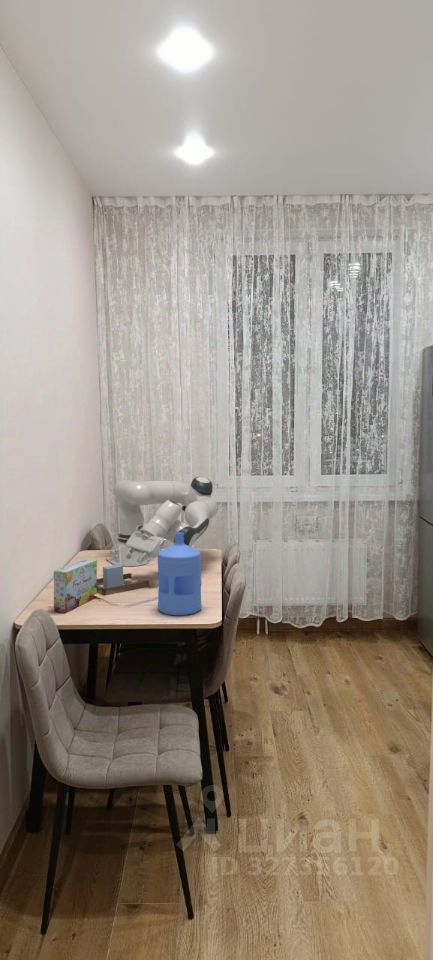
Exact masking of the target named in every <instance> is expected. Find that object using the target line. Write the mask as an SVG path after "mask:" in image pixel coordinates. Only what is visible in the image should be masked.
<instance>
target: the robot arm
mask: <svg viewBox="0 0 433 960" xmlns="http://www.w3.org/2000/svg"><path fill="white" fill-rule="evenodd" d="M112 489H113V495H114V497H115V500H116V505H117V508H118V514H119V533H118V534H117V536H118V538H117V542H116V543H115V544H114V545H113V546H112V547H111V549H110V551H109V552H110V556H106V557H105V559H107V560H108V561H107V560H106V561H107V562H109V563H110V564H112V566H113V565H121V566H123V567H135V566H136V567H140V566H143V565H146V564H148V563H149V562H150V561H151V558H150V557H153V558H156V557H158V553H159V552H160V551H161V550H163V549H164V545H165V542H166V541H169V542H170V543H171V544H172V545H174V544H175V533H176V532H183V533H184V534H183V537H184V544H185V545H187V546H190V547H193V546H194V543H196V541H197V540H198V539H199V538H200V537H201V536H202V535H203V534H204V533H205V531H207V529H208V527H209V524H210V521H211V519H213V518H214V517H215V516H216V515H217V513H218V510H219V507H218V504H217V502H216V500H214V499H213V498H212V494H213V482H212V480H210V479H209V478H208V477H205V476H197V477H193V479H192V481H191V483H190V485H189V484H188V483H187V482H184V481H179V480H157V479H155V480H149V481H148V480H147V481H146V480H145V481H140V480H134V479H133V480H132V479H129V478H127V479H120V480H118V481H117V482H116V483H115V484H114V486H113V488H112ZM153 504H154V505H157V504H158V505H159V504H161V505H160V507H158V509H157V510H156V511H155V512H154V515H153V516H152V518H151V519H150V520H149V521H148V522H147V523H145V521H144V520H145V518H144V514H143V512H142V508H141V506H147V505H153ZM179 504H182V505H183V506H181V505H179ZM182 511H183V512H184V519H185V522H186V523H187V524H186V523H184V522H183V521H181V520H179V519H178V518H179V517H180V515H181V513H182Z"/></svg>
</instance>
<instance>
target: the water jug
mask: <svg viewBox="0 0 433 960" xmlns="http://www.w3.org/2000/svg"><path fill="white" fill-rule="evenodd" d="M183 534H184V533H183V532H176V533H175V544H171V545H169V546H168V547H166V548H162V549H161V551H160V552H159V553H158V555H157V572H158V591H157V595H158V601H157V609H158V610H159V612H161V613H162V614H164V615H169V616H187V615H188V614H189V615H192V614H193V613H194V614H197V612H200V610H201V609H202V553H201V551H200V550H198V549H196V548H194V547H193V546H191V547H190V546H187V545H185V544H184V537H183Z"/></svg>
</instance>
